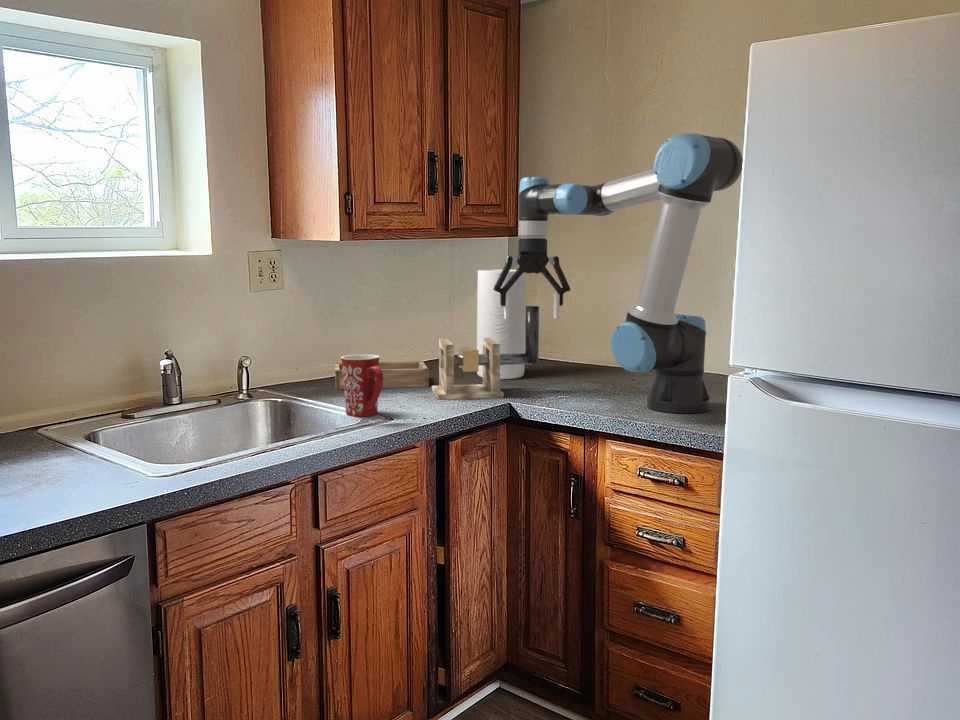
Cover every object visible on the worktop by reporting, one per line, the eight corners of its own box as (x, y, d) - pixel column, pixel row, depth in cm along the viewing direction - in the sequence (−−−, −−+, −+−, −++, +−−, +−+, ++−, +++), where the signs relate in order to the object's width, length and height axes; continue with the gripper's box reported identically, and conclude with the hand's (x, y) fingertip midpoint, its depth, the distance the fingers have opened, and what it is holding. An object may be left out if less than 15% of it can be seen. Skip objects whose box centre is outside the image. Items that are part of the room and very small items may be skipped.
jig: (493, 388, 232) (493, 337, 230) (503, 397, 218) (504, 343, 216) (431, 390, 229) (431, 338, 227) (438, 399, 215) (438, 345, 213)
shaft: (536, 363, 227) (537, 305, 225) (539, 365, 224) (540, 306, 222) (441, 365, 223) (441, 306, 221) (443, 367, 219) (443, 307, 217)
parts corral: (428, 386, 234) (428, 368, 233) (335, 389, 229) (335, 371, 229) (422, 377, 249) (422, 361, 248) (335, 380, 244) (334, 363, 244)
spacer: (478, 371, 219) (478, 350, 219) (463, 371, 219) (463, 350, 218) (474, 367, 226) (474, 347, 225) (459, 367, 225) (459, 347, 225)
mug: (334, 412, 198) (333, 356, 196) (368, 408, 204) (367, 352, 202) (362, 421, 188) (361, 362, 186) (396, 416, 194) (395, 358, 192)
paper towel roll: (511, 381, 242) (512, 271, 238) (468, 377, 249) (468, 270, 245) (532, 374, 255) (533, 270, 251) (490, 371, 262) (490, 269, 257)
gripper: (575, 237, 226) (572, 316, 230) (483, 237, 222) (482, 317, 225) (583, 238, 219) (580, 319, 222) (488, 237, 215) (487, 320, 218)
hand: (531, 318), depth 224 cm, fingers open, 13 cm apart
